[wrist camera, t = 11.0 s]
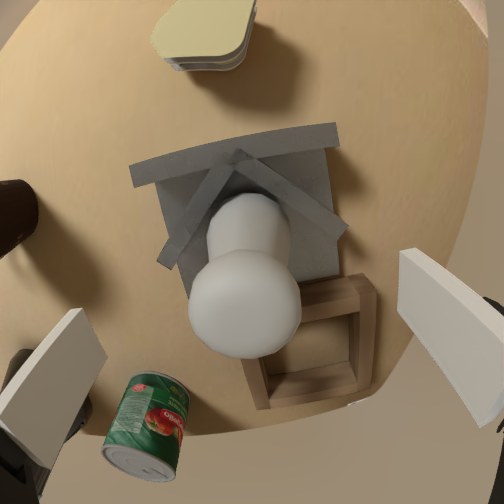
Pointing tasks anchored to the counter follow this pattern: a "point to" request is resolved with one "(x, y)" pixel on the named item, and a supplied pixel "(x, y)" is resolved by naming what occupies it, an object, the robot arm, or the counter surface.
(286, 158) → the v-block
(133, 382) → the canned tomato
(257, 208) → the salt shaker
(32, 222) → the coffee mug
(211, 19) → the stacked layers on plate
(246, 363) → the bore block
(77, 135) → the counter surface
